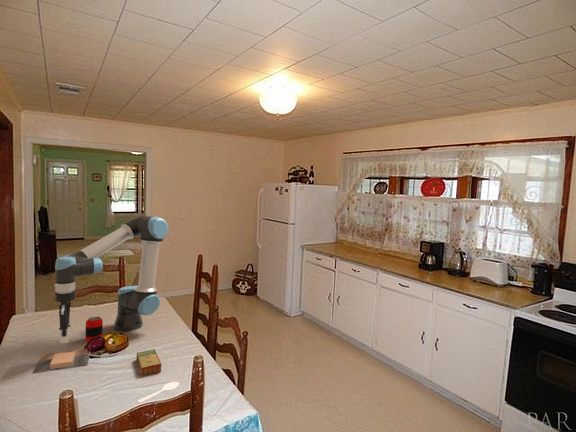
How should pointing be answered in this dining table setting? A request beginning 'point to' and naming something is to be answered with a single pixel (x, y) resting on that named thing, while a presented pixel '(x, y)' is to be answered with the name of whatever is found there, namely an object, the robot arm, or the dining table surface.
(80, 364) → the board
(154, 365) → the carton
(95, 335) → the soda can
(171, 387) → the spoon
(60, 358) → the tile
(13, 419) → the dining table surface
